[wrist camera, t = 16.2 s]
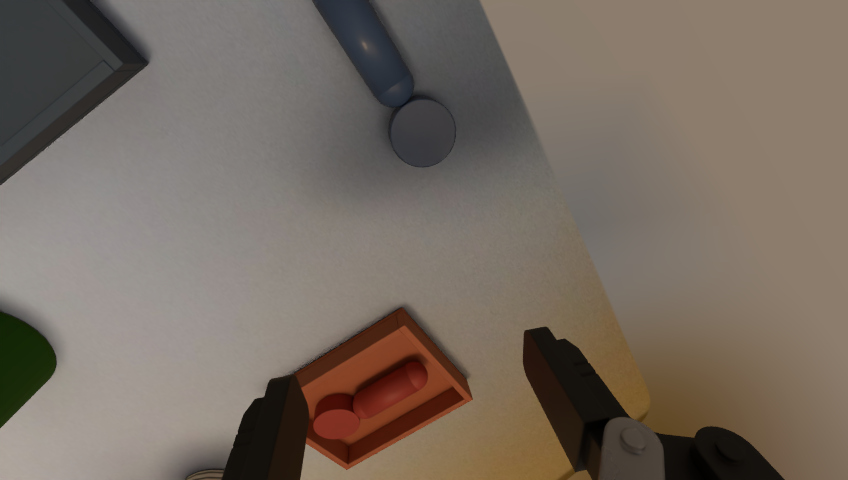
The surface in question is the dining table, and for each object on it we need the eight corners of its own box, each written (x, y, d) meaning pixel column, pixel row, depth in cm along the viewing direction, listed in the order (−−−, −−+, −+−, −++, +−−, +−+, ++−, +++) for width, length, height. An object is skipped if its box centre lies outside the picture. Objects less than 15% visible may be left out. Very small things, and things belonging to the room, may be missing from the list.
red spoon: (411, 345, 30) (414, 367, 28) (435, 370, 31) (440, 393, 29) (305, 408, 31) (301, 433, 29) (334, 429, 33) (332, 454, 31)
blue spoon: (291, -4, 18) (281, -13, 16) (353, -54, 17) (352, -70, 15) (410, 172, 23) (415, 184, 21) (461, 138, 23) (471, 146, 21)
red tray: (401, 307, 28) (404, 325, 26) (466, 380, 33) (473, 399, 31) (266, 390, 30) (259, 413, 28) (347, 447, 35) (346, 470, 33)
